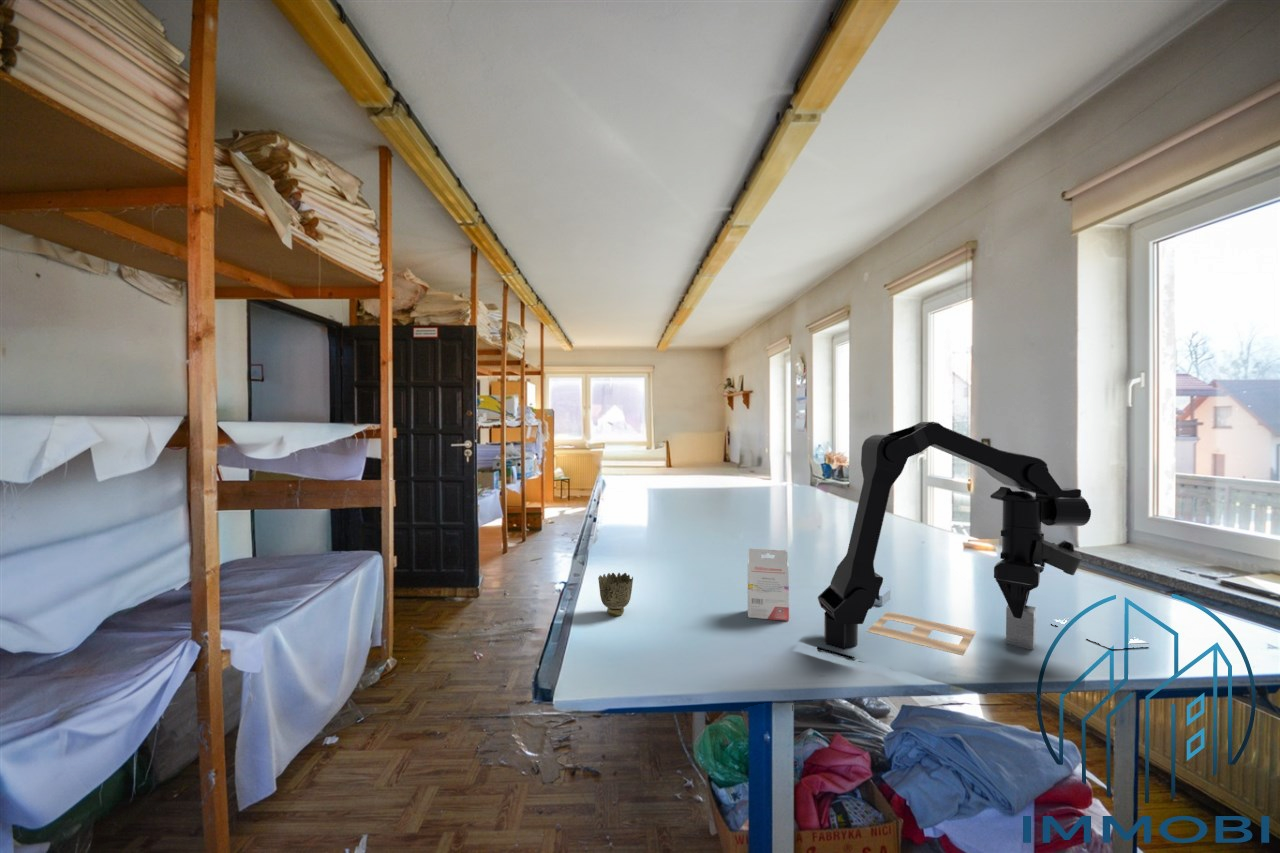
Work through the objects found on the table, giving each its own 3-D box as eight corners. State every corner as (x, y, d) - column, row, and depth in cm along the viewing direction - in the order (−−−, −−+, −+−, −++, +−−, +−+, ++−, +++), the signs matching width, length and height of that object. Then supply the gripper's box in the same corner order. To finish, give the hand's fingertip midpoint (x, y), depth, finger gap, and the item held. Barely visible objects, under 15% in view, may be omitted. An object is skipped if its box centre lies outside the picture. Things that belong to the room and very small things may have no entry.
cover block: (882, 614, 115) (882, 596, 115) (844, 606, 121) (845, 588, 121) (890, 606, 120) (890, 589, 120) (854, 599, 125) (854, 582, 125)
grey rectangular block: (1033, 658, 94) (1033, 612, 94) (1005, 651, 96) (1006, 607, 96) (1035, 650, 97) (1035, 607, 97) (1008, 644, 99) (1008, 602, 99)
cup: (637, 617, 112) (638, 579, 112) (604, 622, 109) (604, 583, 109) (625, 606, 119) (626, 570, 119) (594, 610, 116) (594, 573, 116)
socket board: (962, 663, 91) (963, 655, 91) (866, 639, 101) (866, 631, 101) (976, 639, 102) (976, 631, 102) (887, 618, 112) (887, 611, 112)
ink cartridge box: (788, 613, 115) (788, 545, 115) (789, 621, 110) (789, 550, 110) (747, 609, 117) (748, 543, 117) (747, 617, 112) (747, 548, 112)
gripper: (1078, 540, 84) (1076, 638, 84) (1079, 524, 98) (1078, 608, 98) (994, 530, 91) (992, 621, 91) (1007, 516, 105) (1006, 595, 106)
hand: (1020, 611), depth 96 cm, fingers open, 9 cm apart
